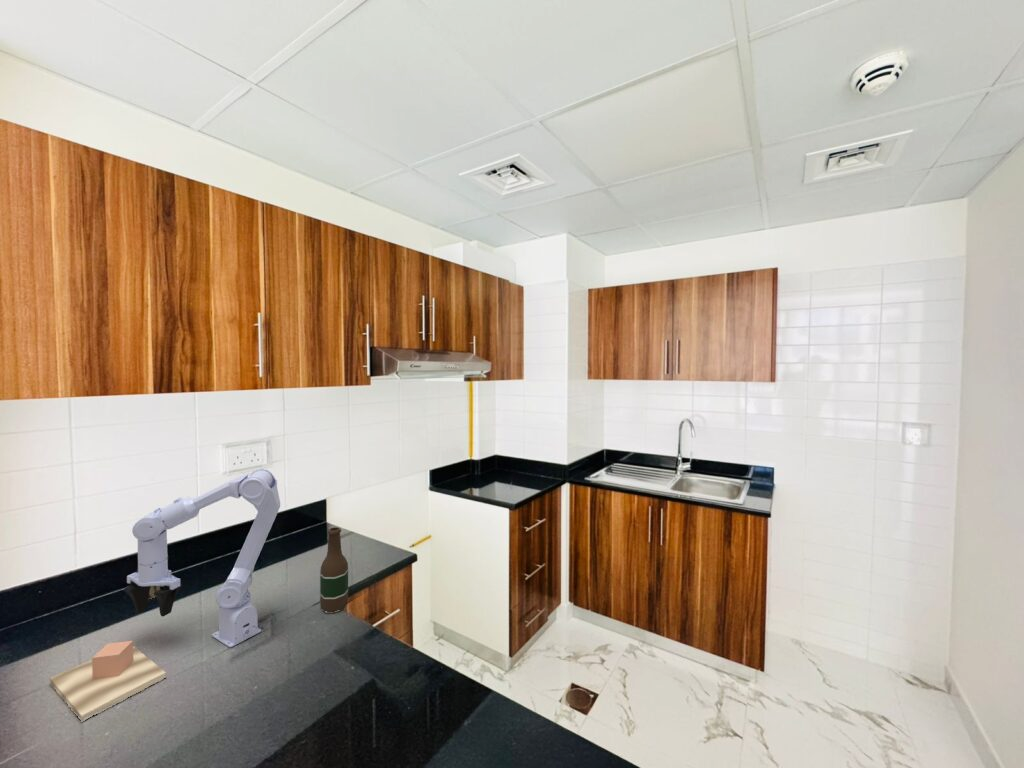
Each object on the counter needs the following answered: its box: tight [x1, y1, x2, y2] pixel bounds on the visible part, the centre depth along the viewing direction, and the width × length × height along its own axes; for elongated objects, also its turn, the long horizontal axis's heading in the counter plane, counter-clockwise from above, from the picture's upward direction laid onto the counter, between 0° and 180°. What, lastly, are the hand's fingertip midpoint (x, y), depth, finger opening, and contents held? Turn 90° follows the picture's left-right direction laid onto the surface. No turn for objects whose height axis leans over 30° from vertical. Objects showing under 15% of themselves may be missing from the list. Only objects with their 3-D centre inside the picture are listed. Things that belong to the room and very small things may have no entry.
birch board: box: [49, 645, 167, 720], centre depth 95 cm, size 20×14×2 cm
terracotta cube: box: [91, 640, 134, 679], centre depth 97 cm, size 5×5×5 cm
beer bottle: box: [319, 526, 349, 612], centre depth 126 cm, size 8×8×24 cm
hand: (154, 612), depth 107 cm, fingers open, 7 cm apart
